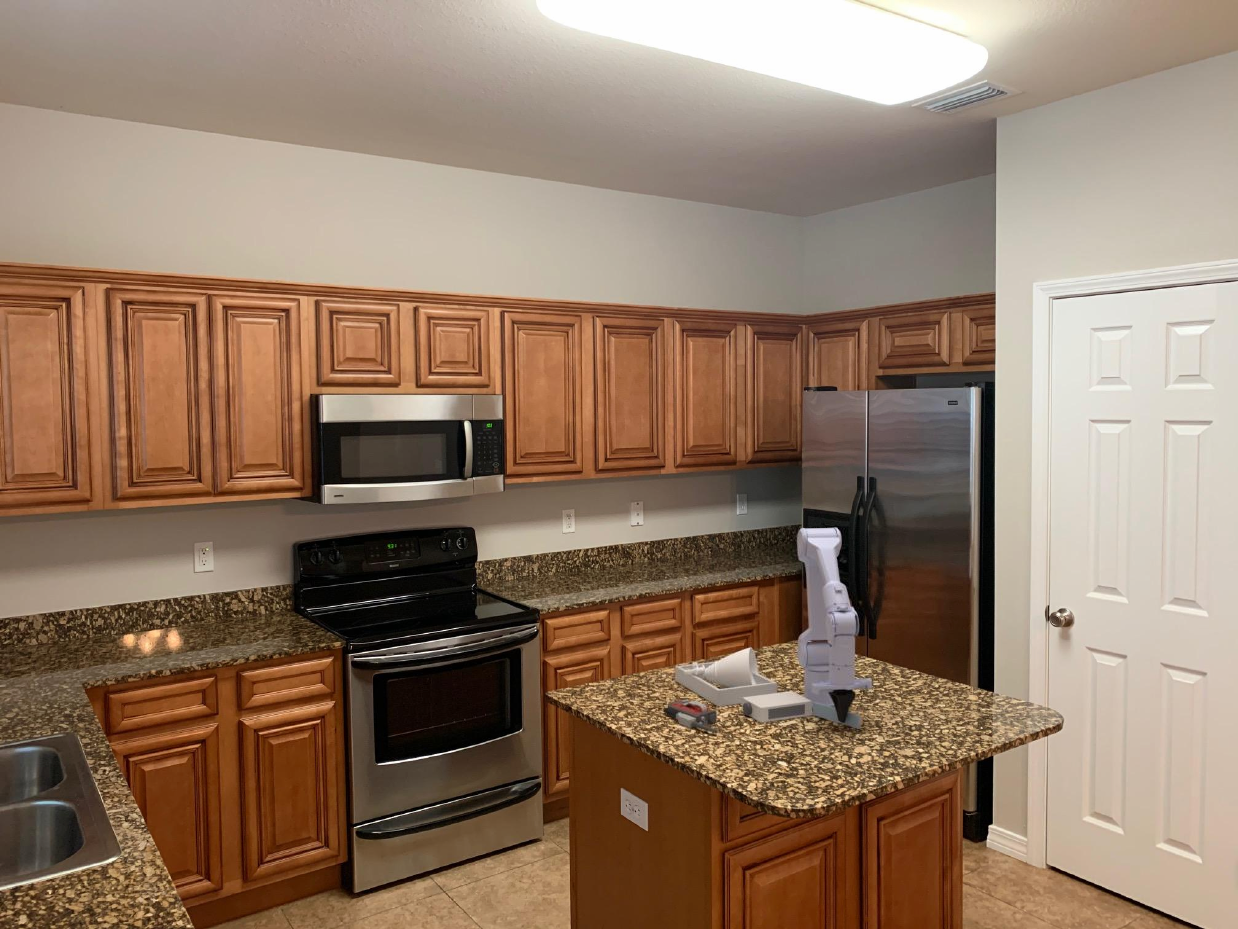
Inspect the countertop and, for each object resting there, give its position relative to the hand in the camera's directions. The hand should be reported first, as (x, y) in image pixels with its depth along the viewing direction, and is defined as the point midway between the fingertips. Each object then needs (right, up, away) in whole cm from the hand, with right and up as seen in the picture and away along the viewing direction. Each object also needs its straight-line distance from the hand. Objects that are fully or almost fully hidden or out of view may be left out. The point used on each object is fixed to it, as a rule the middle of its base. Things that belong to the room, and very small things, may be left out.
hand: (841, 721), depth 215 cm
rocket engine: (-24, 0, +31) cm, 39 cm away
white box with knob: (-13, -1, +11) cm, 17 cm away
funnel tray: (-24, 0, +31) cm, 39 cm away
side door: (0, -1, +4) cm, 4 cm away
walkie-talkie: (-33, -2, +5) cm, 33 cm away
